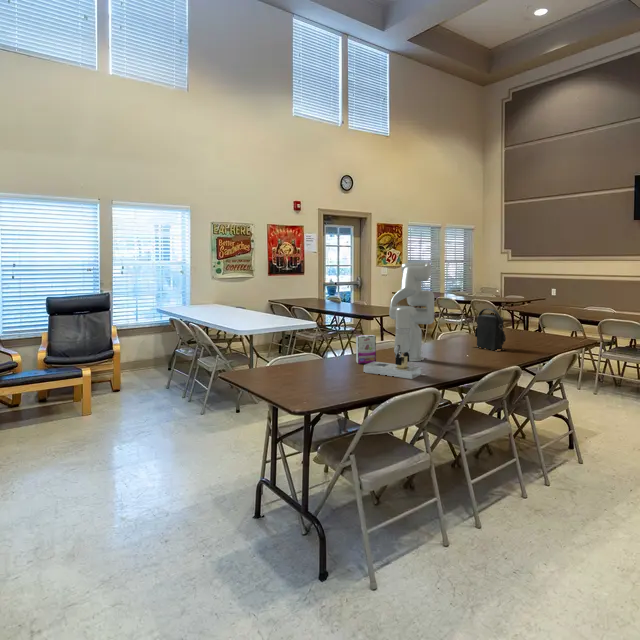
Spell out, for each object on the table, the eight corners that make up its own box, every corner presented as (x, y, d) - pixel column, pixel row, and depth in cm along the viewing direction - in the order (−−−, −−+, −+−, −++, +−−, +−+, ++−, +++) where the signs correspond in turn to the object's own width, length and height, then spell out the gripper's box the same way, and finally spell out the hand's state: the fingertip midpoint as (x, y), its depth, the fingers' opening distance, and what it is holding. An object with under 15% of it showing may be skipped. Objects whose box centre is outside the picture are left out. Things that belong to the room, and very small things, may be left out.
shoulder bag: (470, 347, 330) (471, 307, 327) (478, 345, 336) (480, 306, 332) (498, 352, 312) (500, 309, 309) (506, 350, 317) (508, 309, 314)
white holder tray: (373, 368, 266) (373, 361, 265) (420, 374, 250) (421, 367, 250) (363, 372, 256) (363, 365, 255) (411, 379, 240) (412, 371, 240)
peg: (400, 373, 253) (400, 355, 251) (407, 374, 250) (407, 356, 249) (396, 375, 249) (397, 356, 248) (403, 376, 247) (404, 357, 246)
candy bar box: (373, 361, 284) (373, 334, 282) (376, 363, 280) (376, 335, 278) (355, 362, 282) (355, 335, 280) (357, 364, 277) (358, 336, 275)
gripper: (403, 328, 256) (402, 359, 258) (389, 332, 242) (388, 365, 244) (416, 329, 252) (415, 361, 254) (402, 333, 238) (402, 367, 240)
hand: (402, 363), depth 249 cm, fingers open, 9 cm apart
